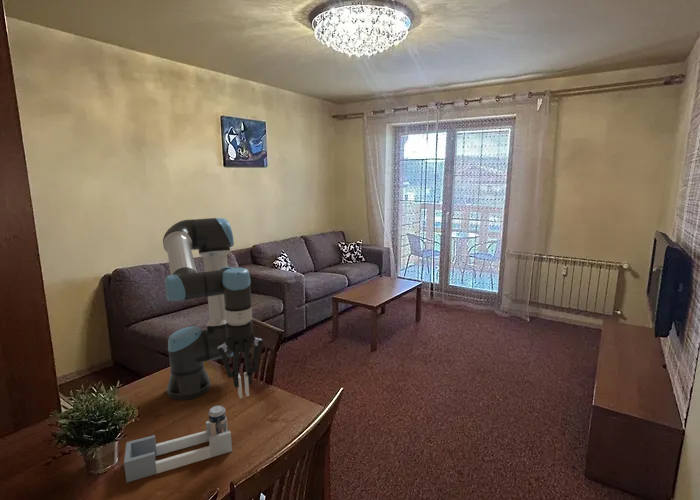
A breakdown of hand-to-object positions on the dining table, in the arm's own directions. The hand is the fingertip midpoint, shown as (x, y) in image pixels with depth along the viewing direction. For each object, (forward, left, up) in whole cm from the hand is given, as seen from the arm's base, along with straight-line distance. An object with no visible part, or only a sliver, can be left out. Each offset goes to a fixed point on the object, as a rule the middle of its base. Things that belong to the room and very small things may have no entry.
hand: (243, 394), depth 118 cm
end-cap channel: (0, -19, -14) cm, 24 cm away
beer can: (0, -8, -15) cm, 17 cm away
